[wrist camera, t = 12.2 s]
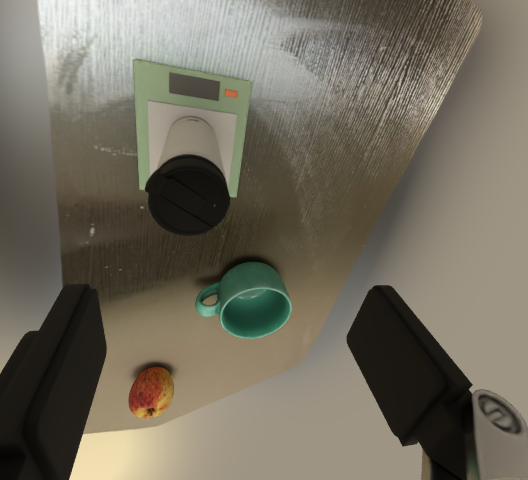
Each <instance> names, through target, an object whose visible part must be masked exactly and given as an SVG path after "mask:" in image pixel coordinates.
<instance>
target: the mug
mask: <svg viewBox="0 0 528 480" xmlns="http://www.w3.org/2000/svg"><path fill="white" fill-rule="evenodd" d="M215 294H218V300H217V301H216V303H215V304H213V305H205V304H203V303H202V302H203V301H204V300H205V299H206V298H208V297H209V296H212V295H215ZM195 306H196V310H197V312H198V313H199V314H200V315H202V316H205V317H209V316H213V315H217V314H219V317H220V322H221V325H222V326H223V328H224V329H225V330H226V331H227V332H228V333H230V334H232V335H234V336H236V337H240V338H247V339H250V338H259V337H263V336H266V335H269V334H271V333H273V332H275V331H277V330H278V329H279V328H281V327H282V326H283V325H284V324H285V323H286V322H287V320H288V319H289V317H290V314H291V309H292V305H291V301H290V298H289V295H288V293H287V290H286V287H285V285H284V283H283V281H282V279H281V277H280V275H279V274H278V273H277V272H276V270H274V269H273V268H272V267H270V266H269V265H266V264H264V263H260V262H247V263H242V264H240V265H237V266H235V267H233V268H232V269H230V270H229V271H228V272H227V273H226V274H225V275H224V277H223V278H222V280H221V282H218V283H214V284H212V285H210V286H208V287H206V288H205V289H203V290H202V291H201V292H200V293H199V294H198V296H197V298H196V302H195Z"/></svg>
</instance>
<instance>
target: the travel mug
mask: <svg viewBox="0 0 528 480" xmlns="http://www.w3.org/2000/svg"><path fill="white" fill-rule="evenodd" d="M145 191H147V192H148V193H149V197H148V205H149V210H150V212H151V215H152V217H153V218H154V219H155V221H156V222H157V223H158V224H159V225H160V226H161V227H163V228H164V229H166V230H167V231H169V232H172V233H174V234H178V235H184V236H194V235H200V234H204V233H206V232H207V231H209V230H211V229H213V227H214V226H217V225H218V224H219V223H220V222H221V221H222V220H223V218H224V217H225V215H226V213H227V210H228V208H229V205H230V196H229V191H228V185H227V180H226V176H225V172H224V168H223V164H222V159H221V155H220V151H219V147H218V143H217V139H216V135H215V132H214V130H213V128H212V127H211V126H210V125H209V124H208V123H207V122H206V121H205V120H203V119H201V118H199V117H196V116H185V117H182V118H179V119H178V120H176V121H175V122H174V123H173V124H172V126H171V128H170V130H169V133H168V136H167V139H166V142H165V145H164V148H163V151H162V154H161V157H160V160H159V163H158V165H157V168H156V171H154V172H153V174H152V175H151V176H150V178H149V179H148V181H147V182H146V186H145Z"/></svg>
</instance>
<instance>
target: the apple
mask: <svg viewBox="0 0 528 480" xmlns="http://www.w3.org/2000/svg"><path fill="white" fill-rule="evenodd" d="M173 394H174V383H173V380H172V377H171V375H170V373H169V372H168V371H167V370H166V369H165V368H162V367H151V368H148V369H146V370H144V371H143V372H142V373H141V374H140V375H139V376H138V377H137V379H136V380H135V382H134V383H133V385H132V387H131V390H130V393H129V407H130V410H131V412H132V413H133V414H134V415H135V416H136V417H138V418H152V417H155V416H158V415H160V414H162V413H163V412H164V411H165V410H166V409H167V408H168V406H169V405H170V403H171V400H172V397H173Z"/></svg>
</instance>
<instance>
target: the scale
mask: <svg viewBox="0 0 528 480" xmlns="http://www.w3.org/2000/svg"><path fill="white" fill-rule="evenodd" d="M133 73H134V92H135V111H136V131H137V150H138V169H139V188H140V190H145V186H146V182H147V181H148V179H149V178H150V176H151V175H152V174H153V172H154V171H156V168H157V165H158V163H159V160H160V157H161V154H162V151H163V148H164V145H165V142H166V139H167V136H168V133H169V130H170V128H171V126H172V124H173V123H174V122H175V121H176V120H178V119H179V118H182V117H185V116H196V117H199V118H201V119H203V120H205V121H206V122H207V123H208V124H209V125H210V126H211V127H212V128H213V130H214V132H215V135H216V139H217V143H218V147H219V151H220V155H221V159H222V164H223V168H224V172H225V176H226V180H227V185H228V191H229V196H230V197H237V190H238V183H239V175H240V168H241V160H242V153H243V146H244V138H245V131H246V124H247V116H248V109H249V102H250V94H251V87H252V82H251V81H249V80H243V79H238V78H233V77H228V76H222V75H217V74H212V73H207V72H201V71H196V70H191V69H186V68H180V67H175V66H170V65H164V64H159V63H154V62H149V61H143V60H138V59H134V60H133Z"/></svg>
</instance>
